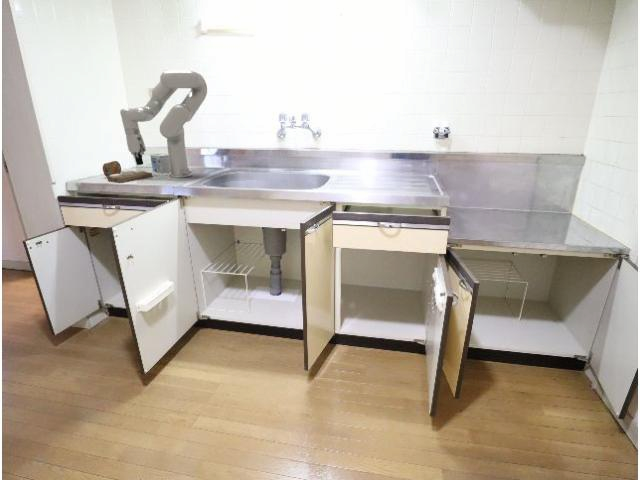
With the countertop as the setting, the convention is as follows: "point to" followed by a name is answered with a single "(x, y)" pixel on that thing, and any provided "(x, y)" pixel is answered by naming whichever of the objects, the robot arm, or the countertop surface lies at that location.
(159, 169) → the light bulb box
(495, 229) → the countertop surface
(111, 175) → the end button
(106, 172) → the tin
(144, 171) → the end button
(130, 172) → the middle button
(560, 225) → the countertop surface
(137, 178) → the button board
